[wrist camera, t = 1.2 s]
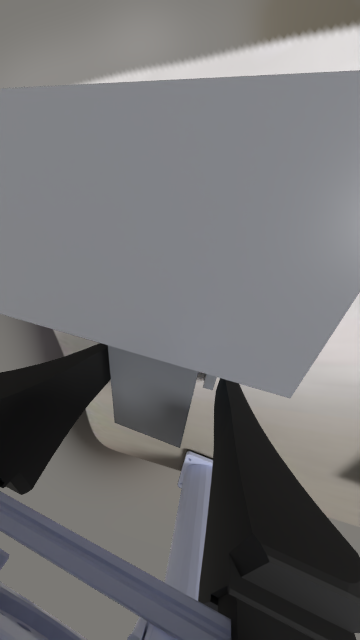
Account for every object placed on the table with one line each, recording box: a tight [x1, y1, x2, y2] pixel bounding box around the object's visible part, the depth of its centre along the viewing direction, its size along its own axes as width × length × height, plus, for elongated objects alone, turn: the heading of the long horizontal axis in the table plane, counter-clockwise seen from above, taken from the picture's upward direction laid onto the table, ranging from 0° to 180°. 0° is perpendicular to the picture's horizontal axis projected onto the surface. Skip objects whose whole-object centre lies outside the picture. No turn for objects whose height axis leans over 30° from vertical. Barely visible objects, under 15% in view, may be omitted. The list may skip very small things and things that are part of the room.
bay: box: [0, 70, 360, 398], centre depth 8 cm, size 12×7×9 cm, turn 172°
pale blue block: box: [108, 345, 198, 448], centre depth 10 cm, size 11×4×6 cm, turn 172°
